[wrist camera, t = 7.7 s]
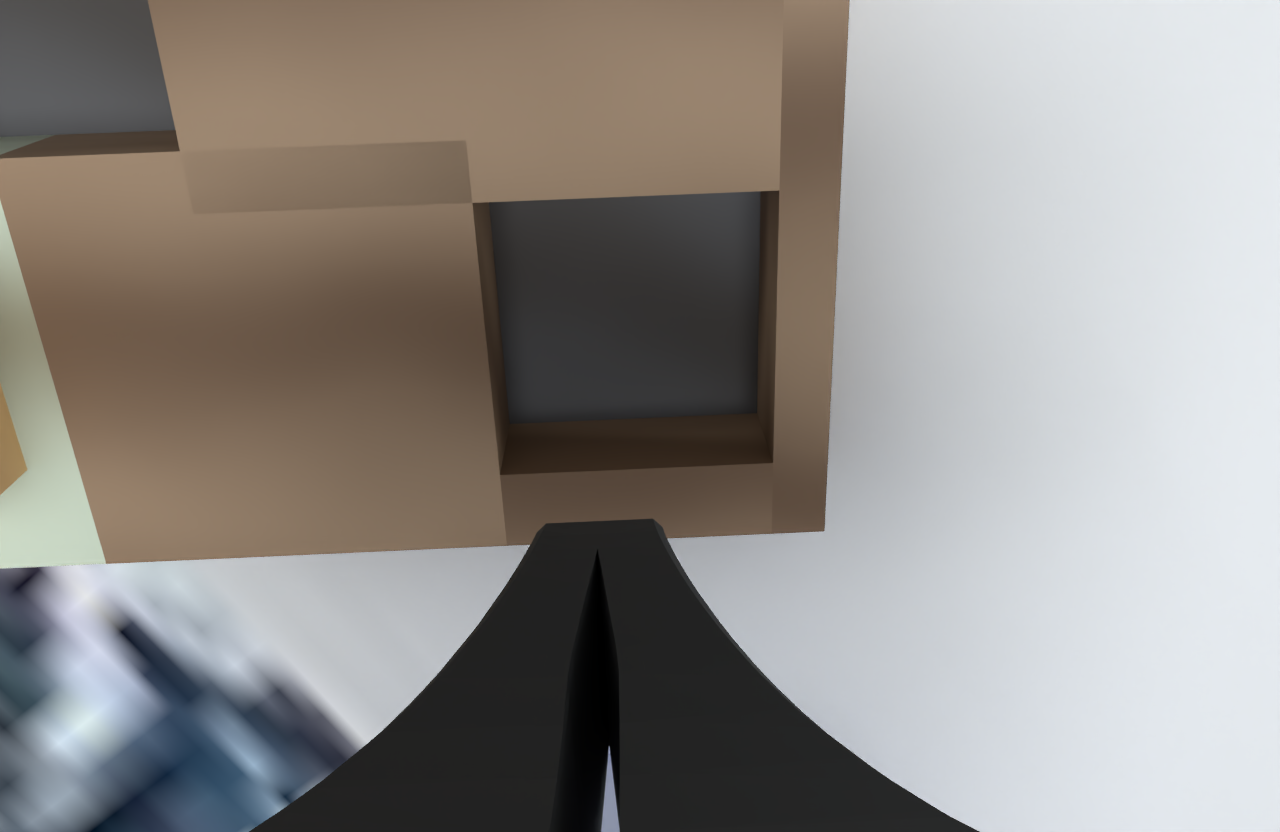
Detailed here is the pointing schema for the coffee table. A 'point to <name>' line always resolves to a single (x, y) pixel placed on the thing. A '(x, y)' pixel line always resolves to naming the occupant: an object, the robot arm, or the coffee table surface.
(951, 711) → the coffee table surface
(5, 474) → the block
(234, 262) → the trap board
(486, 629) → the robot arm
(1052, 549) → the coffee table surface
